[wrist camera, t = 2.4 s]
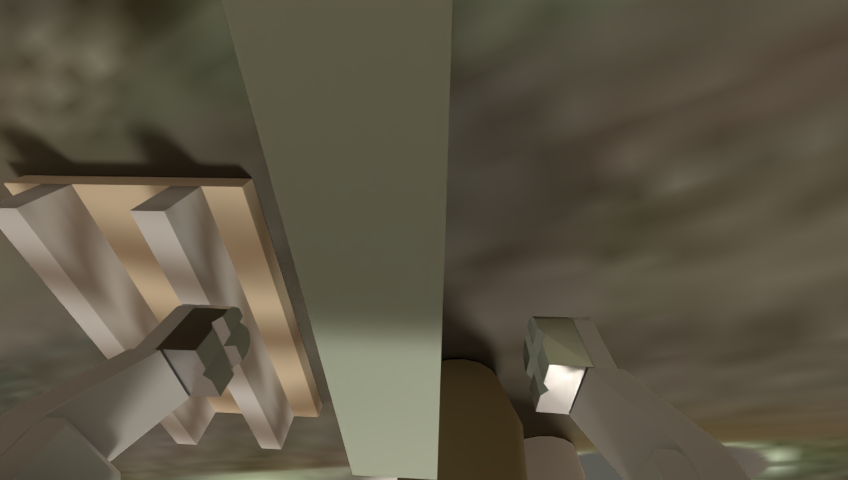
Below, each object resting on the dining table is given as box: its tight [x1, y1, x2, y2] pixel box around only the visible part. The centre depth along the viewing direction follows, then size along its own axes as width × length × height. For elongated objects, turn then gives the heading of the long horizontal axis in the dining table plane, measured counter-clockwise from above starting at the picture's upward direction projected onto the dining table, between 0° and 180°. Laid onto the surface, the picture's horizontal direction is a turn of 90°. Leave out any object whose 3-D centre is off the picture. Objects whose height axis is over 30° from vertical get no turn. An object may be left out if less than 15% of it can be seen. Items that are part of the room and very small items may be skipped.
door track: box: [0, 175, 322, 449], centre depth 21 cm, size 20×12×4 cm, turn 0°
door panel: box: [221, 0, 453, 480], centre depth 12 cm, size 14×3×10 cm, turn 0°
